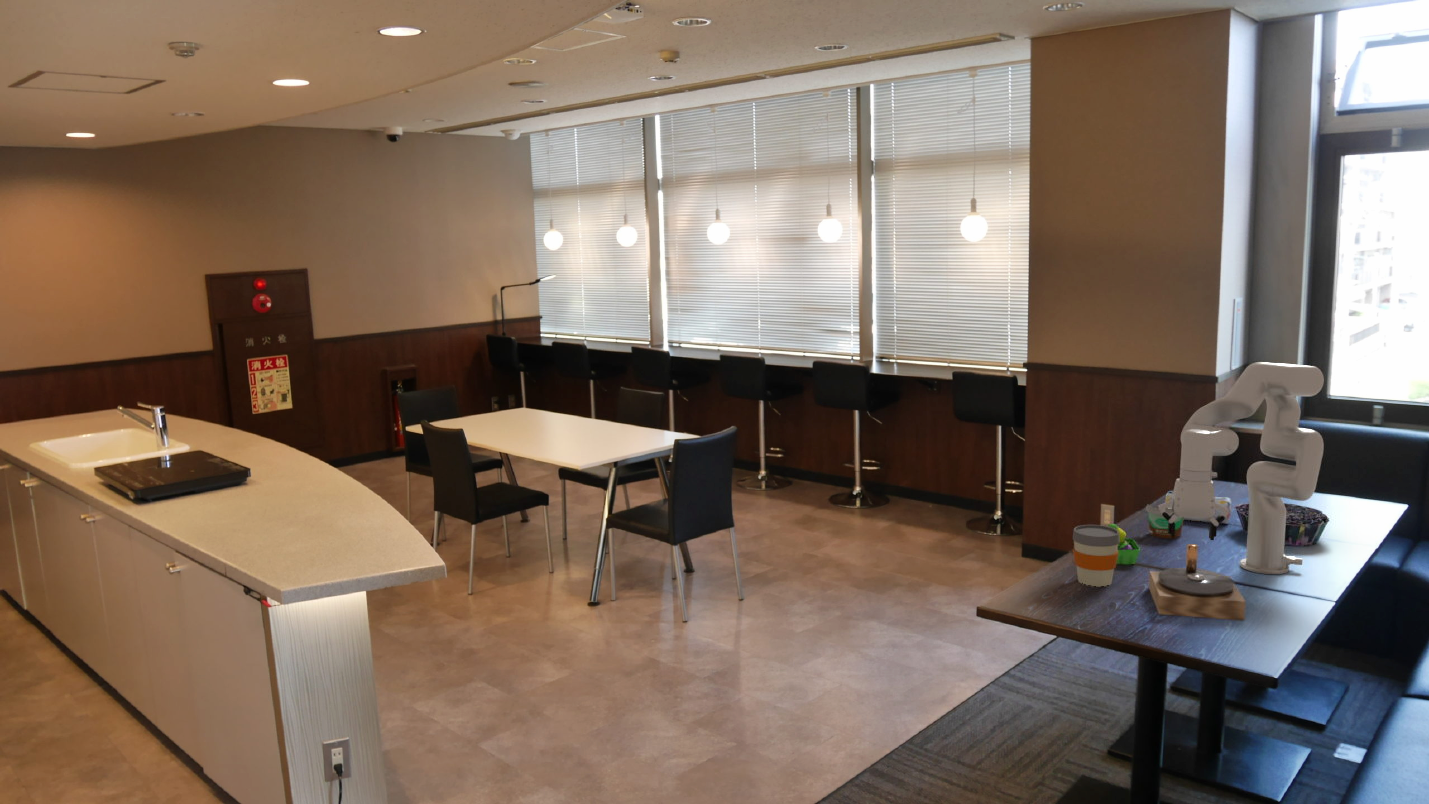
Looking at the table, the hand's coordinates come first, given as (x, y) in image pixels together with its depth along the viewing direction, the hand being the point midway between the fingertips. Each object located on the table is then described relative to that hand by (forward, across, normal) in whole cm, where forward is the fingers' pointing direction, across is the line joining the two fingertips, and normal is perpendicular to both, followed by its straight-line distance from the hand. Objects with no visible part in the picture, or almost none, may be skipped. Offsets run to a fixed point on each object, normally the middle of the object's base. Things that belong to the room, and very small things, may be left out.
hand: (1191, 537), depth 267 cm
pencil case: (+15, -15, -79) cm, 81 cm away
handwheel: (+11, -1, +6) cm, 13 cm away
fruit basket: (+16, +14, -29) cm, 36 cm away
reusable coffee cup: (+17, +23, -7) cm, 30 cm away
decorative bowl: (+15, -37, -64) cm, 75 cm away
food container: (+15, -2, -56) cm, 58 cm away
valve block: (+16, -1, +6) cm, 17 cm away
